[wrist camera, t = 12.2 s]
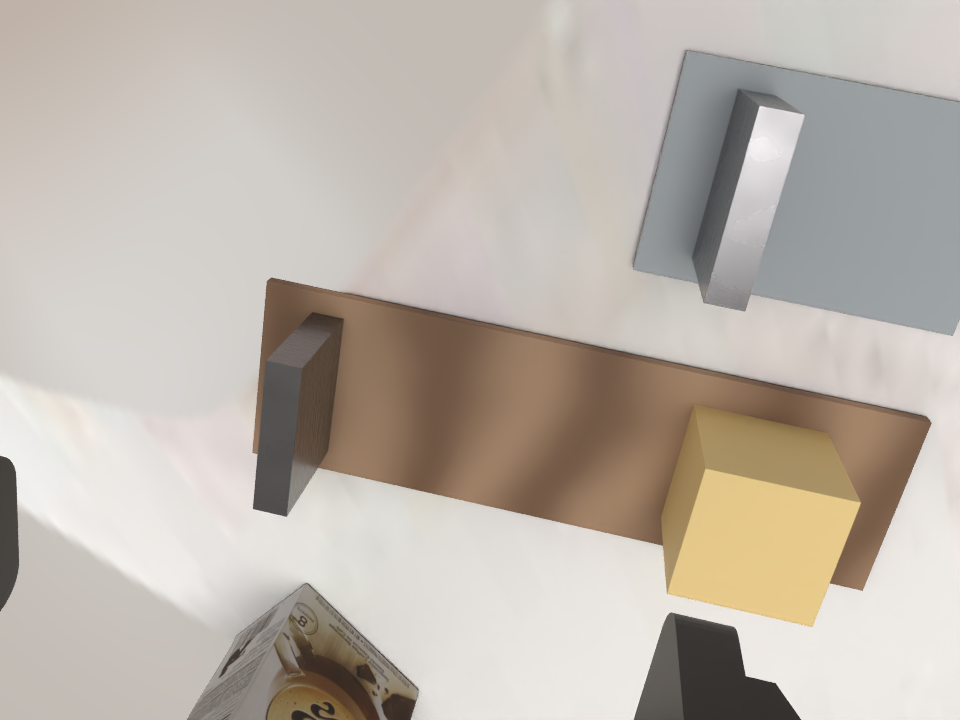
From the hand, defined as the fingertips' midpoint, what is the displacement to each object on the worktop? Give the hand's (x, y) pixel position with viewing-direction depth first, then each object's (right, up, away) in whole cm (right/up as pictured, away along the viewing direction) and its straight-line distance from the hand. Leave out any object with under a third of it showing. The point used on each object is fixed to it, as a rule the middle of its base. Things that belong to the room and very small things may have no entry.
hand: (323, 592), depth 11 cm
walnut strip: (+6, -1, +32) cm, 33 cm away
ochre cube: (+14, -3, +31) cm, 34 cm away
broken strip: (+22, +8, +26) cm, 35 cm away
